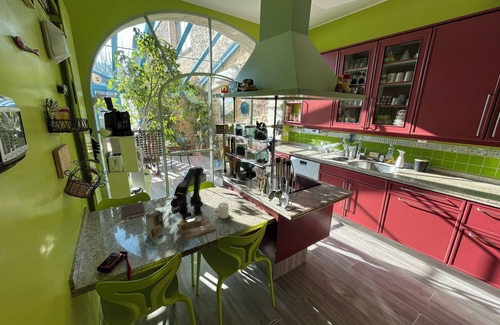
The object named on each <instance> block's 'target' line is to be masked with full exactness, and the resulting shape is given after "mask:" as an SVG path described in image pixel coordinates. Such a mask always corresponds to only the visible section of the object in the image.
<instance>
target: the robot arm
mask: <svg viewBox="0 0 500 325" xmlns="http://www.w3.org/2000/svg"><path fill="white" fill-rule="evenodd" d="M203 174H204V168H203V167H202V166H193V167H190V168H188V171H187V173H186V174H185V176H184V178H183V180H182V181H181V182H179V183H178V184H177V186H176V187H175V189H174V190H175V191H174V194H173V196H174V197H172V199H171V200H170V203H169V204H170V206H171V208H170V211H171V212H172V215H176V214H178V213H179V215H180V216H181V218H182V221H186V220H187V219H188V218H190V217H192V216H193V215H192V214H194V215H195V216H197V215H200V214H203V211H202V207H203V206H204V202H203V201H202V197H201V196H200V189H201V178H202V176H203ZM193 178H194V180H193ZM192 180H193V189H192V190H193V191H192V193H193V194H192V196H191V197H190V201H189V204H188V202H187V201H188V198H187V196H188V194H189V193H188V191H189V185H190V183H191V182H192ZM188 205H190V206H191V207H193V210H192V212H191V211H190V210H189V208H188Z"/></svg>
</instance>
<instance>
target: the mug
mask: <svg viewBox="0 0 500 325" xmlns="http://www.w3.org/2000/svg"><path fill="white" fill-rule="evenodd" d="M229 207H230V206H229V203H227V202H219V203H218V205H217V207H215V208H214V210H213V213H214V214H213V215H215V216H217V217H218V218H219V219H227V218H228V217H229ZM217 210H218V211H217ZM216 212H218V213H216Z"/></svg>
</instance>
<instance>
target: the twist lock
mask: <svg viewBox="0 0 500 325" xmlns="http://www.w3.org/2000/svg"><path fill="white" fill-rule="evenodd" d="M201 217H202V216H201V215H195V216H194V217H193V218H191V219H190V218H189V219H186V220H185V221H183V220H181V221H180V223H179V224H181V228H183V227H185V226H188V225H191V224H194V223H195V224H200V223H201Z"/></svg>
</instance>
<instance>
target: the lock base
mask: <svg viewBox="0 0 500 325" xmlns="http://www.w3.org/2000/svg"><path fill="white" fill-rule="evenodd" d="M176 226H177V229H178V230H179V232H180V233H181V235H182V237H183V239H184V241H187V240H190V239H192V238H195V237H199V236H201V235H205V234H208V233H210V232H214V231H216V227H215V225H213V223H212V222H211V221H210V220H209V219H208V217H206V216H201V223H200V224H195V223H194V224H191V225H188V226H185V227H183V228H181V224H180V223H178V224H176Z"/></svg>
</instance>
